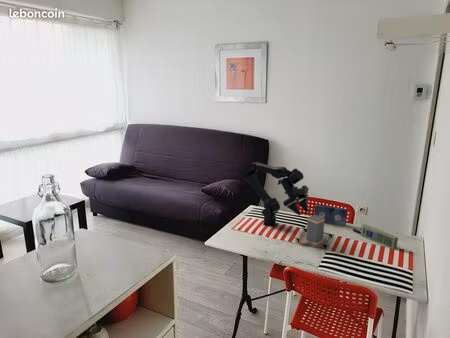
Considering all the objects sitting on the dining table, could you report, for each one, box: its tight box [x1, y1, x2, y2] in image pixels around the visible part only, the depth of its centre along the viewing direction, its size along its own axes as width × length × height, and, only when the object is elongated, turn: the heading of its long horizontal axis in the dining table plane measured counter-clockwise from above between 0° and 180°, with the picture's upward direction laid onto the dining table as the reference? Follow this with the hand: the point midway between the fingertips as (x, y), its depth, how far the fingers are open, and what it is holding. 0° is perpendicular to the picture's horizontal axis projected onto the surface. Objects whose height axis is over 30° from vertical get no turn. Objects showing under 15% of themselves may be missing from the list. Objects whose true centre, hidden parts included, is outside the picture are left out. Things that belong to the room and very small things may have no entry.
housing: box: [306, 214, 325, 244], centre depth 175 cm, size 6×6×12 cm
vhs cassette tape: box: [313, 204, 348, 227], centre depth 201 cm, size 18×3×10 cm, turn 65°
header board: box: [298, 232, 325, 249], centre depth 178 cm, size 12×12×4 cm
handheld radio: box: [352, 222, 399, 250], centre depth 180 cm, size 7×3×25 cm
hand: (303, 213), depth 181 cm, fingers open, 9 cm apart
